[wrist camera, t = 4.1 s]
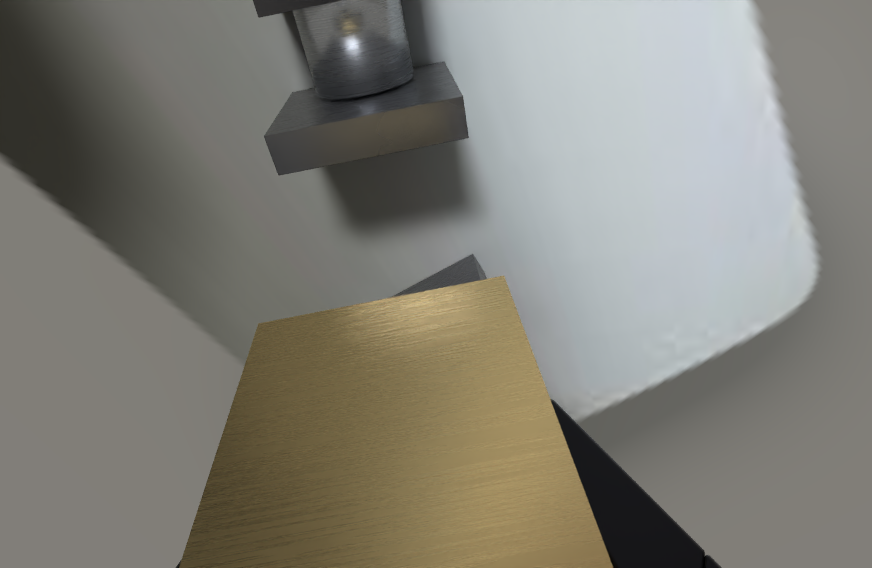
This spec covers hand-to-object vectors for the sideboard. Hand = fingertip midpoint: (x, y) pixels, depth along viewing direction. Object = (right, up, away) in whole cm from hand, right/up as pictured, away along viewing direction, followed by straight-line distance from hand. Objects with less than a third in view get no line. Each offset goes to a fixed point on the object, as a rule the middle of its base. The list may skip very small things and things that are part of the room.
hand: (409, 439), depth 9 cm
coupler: (0, +1, +1) cm, 1 cm away
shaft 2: (-2, +11, +5) cm, 12 cm away
